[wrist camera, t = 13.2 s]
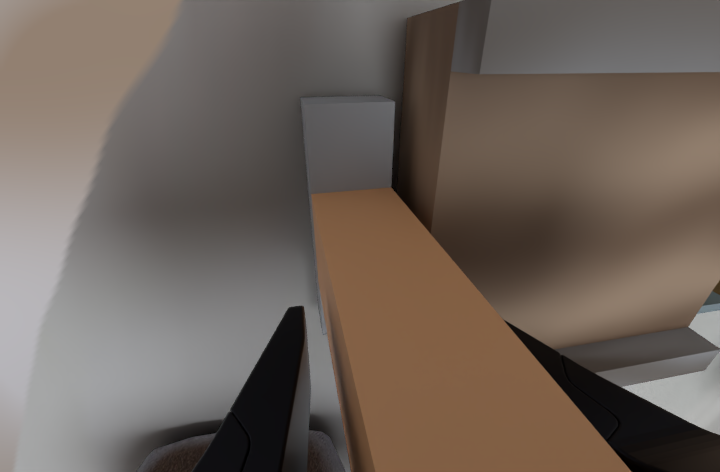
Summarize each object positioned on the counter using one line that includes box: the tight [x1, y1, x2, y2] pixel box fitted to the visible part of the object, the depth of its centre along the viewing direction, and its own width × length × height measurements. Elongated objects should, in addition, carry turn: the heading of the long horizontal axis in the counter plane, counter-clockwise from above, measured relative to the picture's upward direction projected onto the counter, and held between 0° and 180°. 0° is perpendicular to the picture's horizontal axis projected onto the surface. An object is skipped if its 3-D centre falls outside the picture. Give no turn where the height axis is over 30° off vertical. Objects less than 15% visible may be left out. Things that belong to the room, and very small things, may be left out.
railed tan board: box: [397, 0, 720, 387], centre depth 14 cm, size 15×15×6 cm
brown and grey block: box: [300, 95, 631, 472], centre depth 9 cm, size 10×3×12 cm, turn 179°
